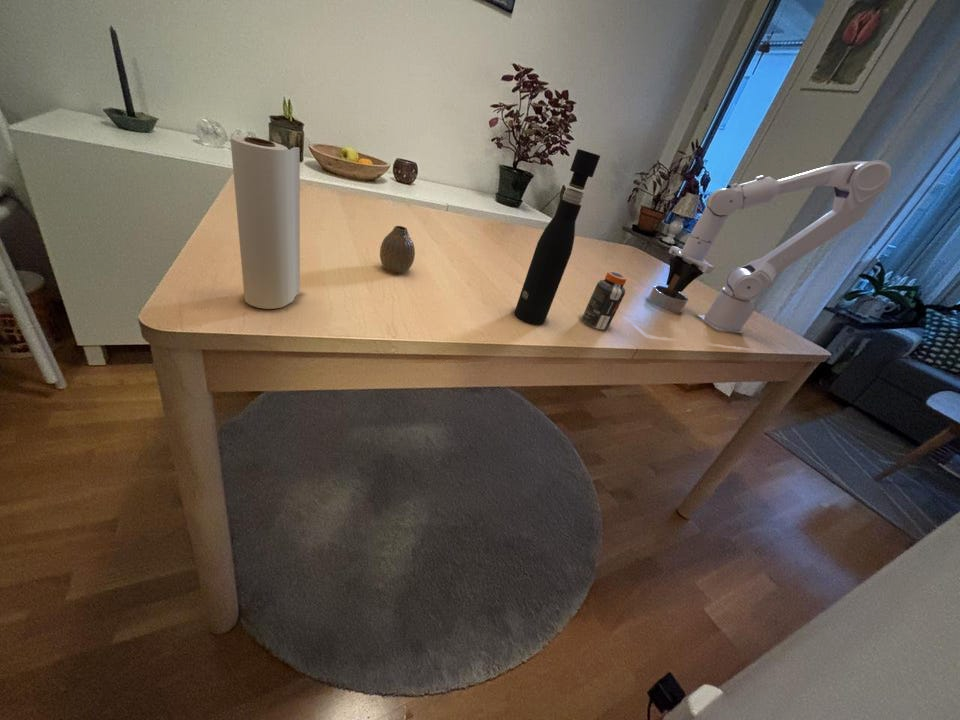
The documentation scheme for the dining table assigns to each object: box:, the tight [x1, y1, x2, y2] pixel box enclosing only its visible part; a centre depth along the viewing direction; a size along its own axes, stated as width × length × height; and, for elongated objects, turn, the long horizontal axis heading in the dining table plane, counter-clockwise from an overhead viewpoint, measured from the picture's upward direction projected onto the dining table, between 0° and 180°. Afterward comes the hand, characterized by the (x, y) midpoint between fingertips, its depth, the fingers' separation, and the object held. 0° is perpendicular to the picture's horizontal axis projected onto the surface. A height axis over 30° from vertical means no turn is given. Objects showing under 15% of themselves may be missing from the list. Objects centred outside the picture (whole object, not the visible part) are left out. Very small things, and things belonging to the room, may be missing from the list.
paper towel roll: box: [229, 135, 301, 310], centre depth 51 cm, size 7×6×21 cm
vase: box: [379, 225, 416, 275], centre depth 76 cm, size 7×7×9 cm
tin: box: [647, 285, 689, 314], centre depth 105 cm, size 9×9×4 cm
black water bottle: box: [514, 148, 601, 326], centre depth 68 cm, size 6×6×30 cm
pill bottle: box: [581, 270, 628, 330], centre depth 79 cm, size 6×6×11 cm
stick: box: [664, 274, 681, 298], centre depth 103 cm, size 2×2×8 cm
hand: (673, 288), depth 103 cm, fingers open, 3 cm apart
